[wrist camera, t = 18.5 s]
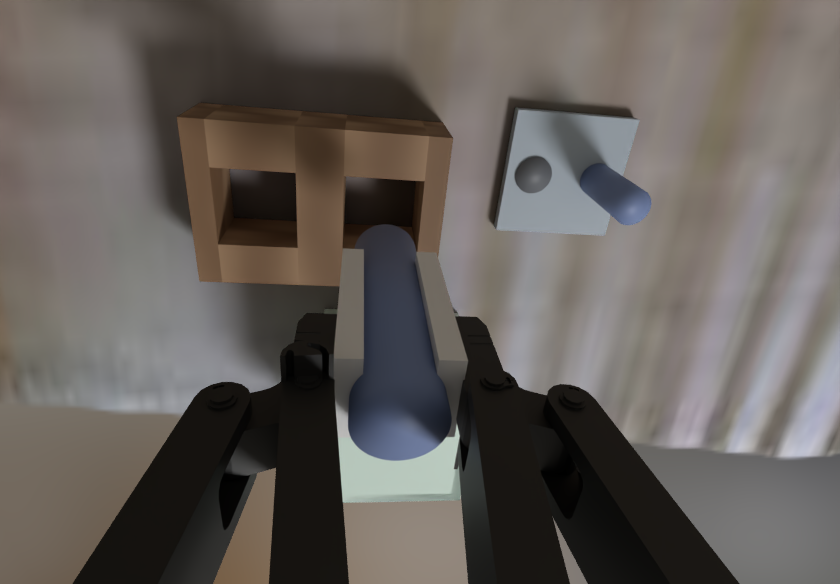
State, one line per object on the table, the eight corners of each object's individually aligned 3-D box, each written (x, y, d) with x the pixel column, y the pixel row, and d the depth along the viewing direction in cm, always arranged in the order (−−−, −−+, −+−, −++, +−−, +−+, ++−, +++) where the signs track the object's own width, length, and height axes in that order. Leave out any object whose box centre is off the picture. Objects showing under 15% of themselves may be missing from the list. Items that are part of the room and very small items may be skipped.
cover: (324, 410, 35) (315, 503, 28) (324, 308, 31) (314, 390, 24) (442, 410, 36) (459, 500, 30) (457, 312, 32) (481, 391, 25)
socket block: (217, 251, 28) (199, 281, 25) (200, 102, 24) (176, 117, 21) (426, 260, 30) (433, 289, 27) (442, 122, 26) (453, 138, 23)
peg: (385, 212, 20) (403, 365, 12) (428, 253, 21) (472, 422, 13) (341, 252, 21) (326, 426, 12) (384, 290, 22) (398, 474, 13)
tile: (493, 225, 29) (516, 264, 25) (515, 107, 26) (545, 128, 22) (600, 231, 30) (640, 270, 26) (634, 117, 27) (686, 139, 22)
